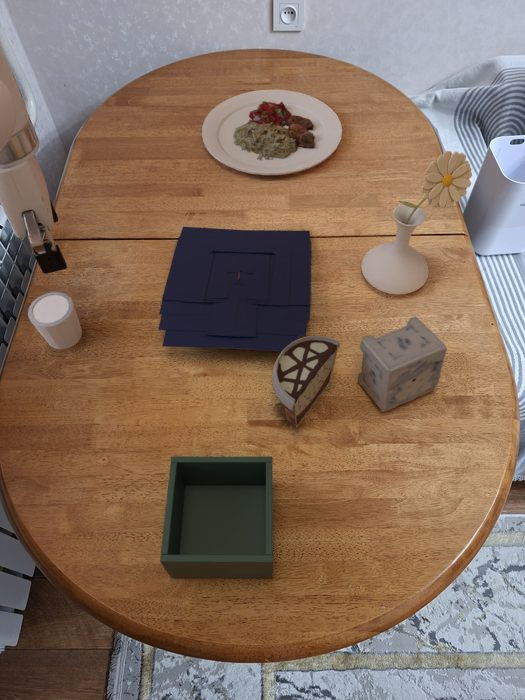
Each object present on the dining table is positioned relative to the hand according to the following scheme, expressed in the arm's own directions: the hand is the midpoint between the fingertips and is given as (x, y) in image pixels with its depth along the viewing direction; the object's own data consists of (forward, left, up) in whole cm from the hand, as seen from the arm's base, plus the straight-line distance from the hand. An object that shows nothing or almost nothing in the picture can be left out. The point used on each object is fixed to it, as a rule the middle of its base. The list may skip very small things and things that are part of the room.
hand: (51, 245), depth 77 cm
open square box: (-7, -41, -18) cm, 45 cm away
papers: (+22, -13, -18) cm, 31 cm away
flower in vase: (+44, -30, -18) cm, 57 cm away
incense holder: (+26, -43, -18) cm, 54 cm away
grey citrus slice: (+14, -34, -18) cm, 41 cm away
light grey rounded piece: (-4, 0, -18) cm, 18 cm away
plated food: (+57, +14, -18) cm, 62 cm away
